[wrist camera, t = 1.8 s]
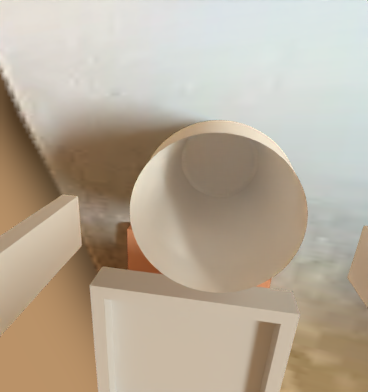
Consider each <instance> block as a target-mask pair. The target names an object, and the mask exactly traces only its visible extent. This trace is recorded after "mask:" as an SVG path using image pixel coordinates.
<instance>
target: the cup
mask: <svg viewBox="0 0 368 392" xmlns="http://www.w3.org/2000/svg"><path fill="white" fill-rule="evenodd" d="M307 216H308V211H307V202H306V197H305V193H304V190H303V187H302V185H301V183H300V181H299V179H298V177H297V175H296V174H295V172H294V170H293V168H292V165H291V163H290V161H289V160H288V158H287V156H286V155H285V153H284V152H283V151H282V149H281V148H280V147H279V146H278V145H277V144H276V143H275V142H274V141H273V140H272V139H270V138H269V137H268V136H266V135H265V134H263V133H262V132H260V131H258V130H257V129H255V128H253V127H250V126H248V125H245V124H242V123H238V122H233V121H226V120H212V121H204V122H200V123H196V124H193V125H190V126H188V127H185V128H183V129H181V130H179V131H178V132H176V133H174V134H173V135H171V136H170V137H169V138H167V139H166V140H165V141H164V142H163V143H162V144H161V145H160V146H159V147H158V148H157V149H156V151H155V152H154V154H153V155H152V157H151V158H150V160H149V162H148V163H147V164H146V166H145V167H144V168H143V170H142V171H141V173H140V175H139V176H138V178H137V181H136V183H135V185H134V188H133V191H132V195H131V201H130V221H131V226H132V231H133V234H134V237H135V239H136V241H137V244H138V246H139V247H140V249H141V251H142V252H143V254H144V255H145V257H146V258H147V259H148V260H149V262H150V263H151V264H152V265H153V266H154V267H155V268H156V269H158V270H159V271H160V272H161V273H162V274H164V275H165V276H167V277H168V278H170V279H171V280H173V281H175V282H177V283H179V284H181V285H184V286H186V287H189V288H192V289H195V290H200V291H205V292H215V293H227V292H236V291H241V290H245V289H249V288H252V287H255V286H257V285H260V284H262V283H264V282H266V281H267V280H269V279H271V278H272V277H274V276H275V275H277V274H278V273H279V272H280V271H281V270H283V269H284V268H285V267H286V266H287V265H288V264H289V262H290V261H291V260H292V259H293V257H294V256H295V254H296V253H297V251H298V249H299V247H300V245H301V243H302V241H303V238H304V235H305V231H306V227H307Z"/></svg>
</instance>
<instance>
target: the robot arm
mask: <svg viewBox="0 0 368 392" xmlns="http://www.w3.org/2000/svg"><path fill="white" fill-rule="evenodd" d="M81 246H82V240H81V227H80V215H79V203H78V196H73V195H64V194H63V195H61V196H60V197H58V198H57V199H55V200H54V201H52V202H51V203H49V204H48V205H46V206H45V207H43V208H42V209H40V210H39V211H37V212H35V213H34V214H32V215H31V216H29V217H28V218H26V219H25V220H23V221H22V222H20V223H19V224H17V225H16V226H14V227H13V228H11V229H10V230H8V231H7V232H5V233H4V234H2V235H1V236H0V336H1V335H2V334H3V333H4V332H5V331H6V330H7V328H8V327H9V326H10V325H11V324H12V323H13V322H14V321H15V320H16V318H17V317H18V316H19V315H20V314H21V313H22V312H23V311H24V310H25V308H26V307H27V306H28V305H29V304H30V303H31V302H32V301H33V300H34V298H35V297H36V296H37V295H38V294H39V293H40V292H41V291H42V290H43V288H44V287H45V286H46V285H47V284H48V283H49V282H50V281H51V280H52V278H53V277H54V276H55V275H56V274H57V273H58V272H59V271H60V269H61V268H62V267H63V266H64V265H65V264H66V263H67V262H68V261H69V260H70V258H71V257H72V256H73V255H74V254H75V253H76V252H77V251H78V250H79V248H80V247H81ZM348 279H349V281H350V282H351V284H352V285H353V287H354V289H355V290H356V292H357V293H358V295H359V296H360V298H361V299H362V301H363V302H364V304H365V305H366V307H367V308H368V226H364V227H363V230H362V233H361V236H360V239H359V243H358V246H357V249H356V252H355V255H354V258H353V262H352V265H351V268H350V271H349V274H348Z"/></svg>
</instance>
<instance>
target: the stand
mask: <svg viewBox="0 0 368 392" xmlns="http://www.w3.org/2000/svg"><path fill="white" fill-rule="evenodd" d="M127 245H128V270H126V269H118V268H110V267H103V266H102V267H101V269H100V270H99V272H98V273H97V275H96V276H95V278H94V279H93V281H92V282H91V284H90V285H89V286H90V298H91V310H92V323H93V335H94V347H95V359H96V371H97V383H98V392H280V388H281V384H282V380H283V377H284V373H285V369H286V365H287V362H288V358H289V354H290V350H291V347H292V343H293V339H294V335H295V332H296V328H297V324H298V320H299V317H300V313H299V310H298V307H297V304H296V300H295V297H294V294H293V291H286V290H279V289H271V288H270V283H271V279H269V280H267V281H266V282H264V283H262V284H260V285H257V286H255V287H252V288H249V289H245V290H241V291H236V292H227V293H215V292H205V291H200V290H195V289H192V288H189V287H186V286H184V285H181V284H179V283H177V282H175V281H173V280H171V279H170V278H168V277H167V276H165V275H164V274H162V273H161V272H160V271H159V270H158V269H156V268H155V267H154V266H153V265H152V264H151V263H150V262H149V260H148V259H147V258H146V257H145V255H144V254H143V252H142V251H141V249H140V247H139V246H138V244H137V241H136V239H135V237H134V234H133V231H132V226H131V224H130V226H129V227H128V229H127Z"/></svg>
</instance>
